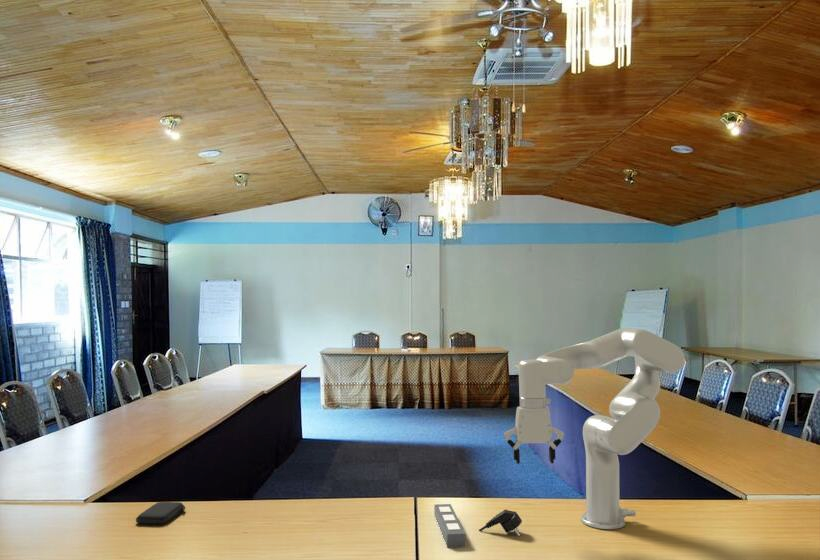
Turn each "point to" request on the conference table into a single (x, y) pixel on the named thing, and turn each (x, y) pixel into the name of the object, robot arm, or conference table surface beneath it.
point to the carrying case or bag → (160, 513)
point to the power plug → (505, 521)
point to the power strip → (449, 525)
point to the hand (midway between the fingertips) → (534, 462)
